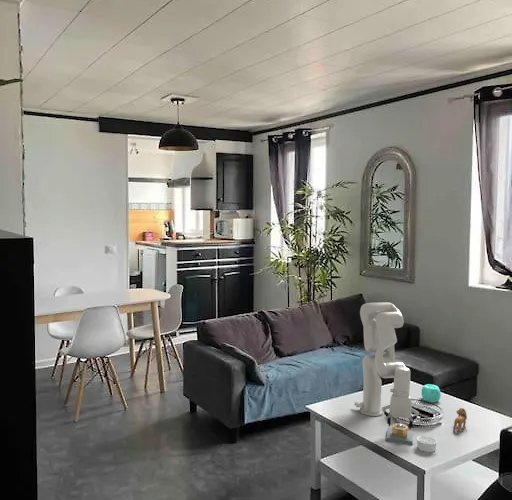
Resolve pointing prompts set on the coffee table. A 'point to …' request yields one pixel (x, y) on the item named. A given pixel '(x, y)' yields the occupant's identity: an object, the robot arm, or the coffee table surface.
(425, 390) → the decorative dice
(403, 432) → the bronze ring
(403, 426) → the steel post
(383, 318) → the robot arm
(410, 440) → the stand base
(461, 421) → the lion figurine
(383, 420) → the coffee table surface
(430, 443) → the ramekin
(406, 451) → the coffee table surface
